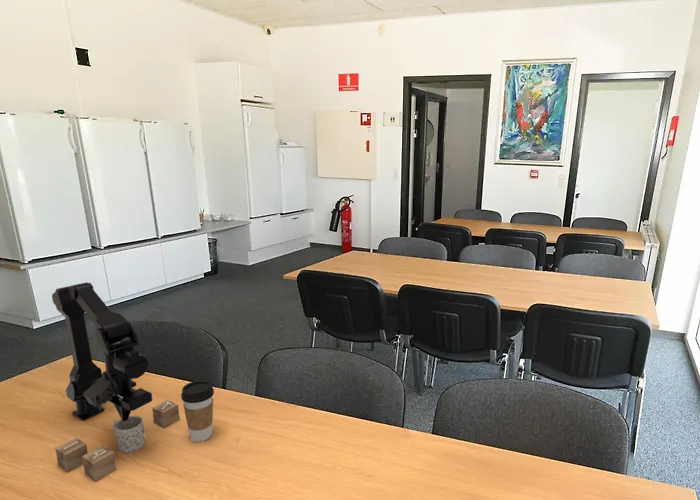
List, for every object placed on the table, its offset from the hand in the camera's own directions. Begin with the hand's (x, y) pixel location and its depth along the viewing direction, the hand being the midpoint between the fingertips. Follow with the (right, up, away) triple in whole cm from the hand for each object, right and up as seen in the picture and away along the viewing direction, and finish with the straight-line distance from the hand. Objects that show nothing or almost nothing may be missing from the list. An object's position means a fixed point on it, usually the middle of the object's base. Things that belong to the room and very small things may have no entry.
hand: (124, 420), depth 119 cm
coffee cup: (+19, -6, +5) cm, 20 cm away
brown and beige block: (+7, -5, +11) cm, 14 cm away
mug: (0, -7, +1) cm, 7 cm away
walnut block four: (-1, -9, -9) cm, 13 cm away
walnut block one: (-10, -9, -6) cm, 14 cm away
